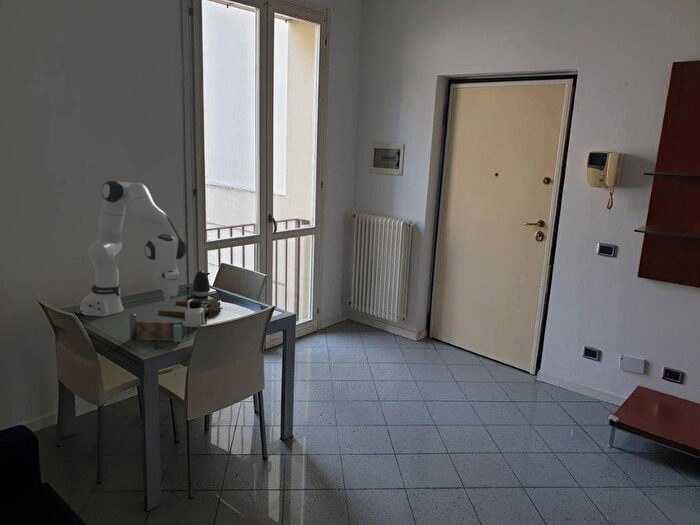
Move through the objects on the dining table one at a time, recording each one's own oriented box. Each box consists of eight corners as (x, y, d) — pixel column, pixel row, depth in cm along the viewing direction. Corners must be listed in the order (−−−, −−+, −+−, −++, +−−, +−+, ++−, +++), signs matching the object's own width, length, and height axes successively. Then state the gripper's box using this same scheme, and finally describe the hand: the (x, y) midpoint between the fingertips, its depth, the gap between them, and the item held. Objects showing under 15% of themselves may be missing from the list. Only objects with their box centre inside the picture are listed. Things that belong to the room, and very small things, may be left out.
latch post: (173, 343, 237) (173, 326, 235) (175, 340, 240) (174, 324, 238) (180, 343, 237) (180, 326, 235) (181, 340, 240) (181, 324, 238)
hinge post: (129, 340, 237) (128, 315, 234) (131, 338, 239) (130, 313, 237) (136, 340, 237) (135, 315, 234) (138, 338, 240) (137, 313, 237)
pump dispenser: (208, 298, 304) (208, 273, 300) (190, 297, 303) (189, 272, 300) (212, 293, 314) (211, 269, 310) (194, 292, 313) (194, 268, 310)
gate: (137, 338, 238) (136, 322, 236) (138, 337, 239) (137, 321, 237) (182, 339, 240) (182, 323, 238) (183, 338, 241) (182, 321, 240)
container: (204, 322, 265) (204, 298, 262) (200, 327, 258) (200, 302, 255) (189, 321, 265) (188, 297, 262) (184, 326, 257) (184, 301, 254)
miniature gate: (180, 296, 295) (229, 298, 289) (181, 305, 296) (230, 307, 290) (153, 310, 269) (207, 312, 263) (154, 320, 270) (208, 323, 264)
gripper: (152, 266, 240) (152, 295, 243) (166, 276, 225) (167, 307, 228) (165, 265, 244) (166, 293, 247) (181, 275, 228) (181, 305, 232)
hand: (166, 300), depth 237 cm, fingers closed
